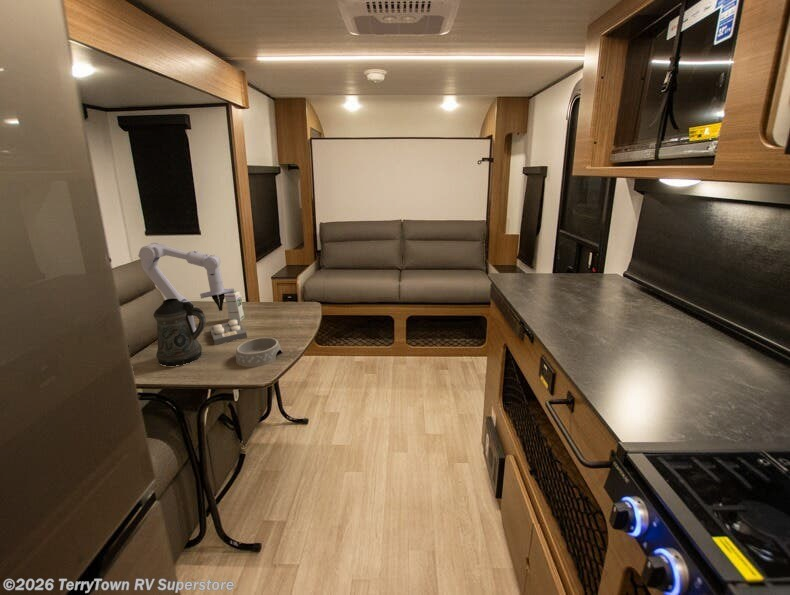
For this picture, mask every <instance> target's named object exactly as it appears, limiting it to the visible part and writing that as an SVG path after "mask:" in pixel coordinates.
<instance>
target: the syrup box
mask: <svg viewBox="0 0 790 595" xmlns="http://www.w3.org/2000/svg"><path fill="white" fill-rule="evenodd" d="M234 291H235V293H230V294H224V295H225V298H224V300H225V305H226V310H227V314H228V321H230V320H234V319H235V320H237V321H238V320H239V321H240V322H241V321H242V320H244V319H245V318H246V317H245V313H244V312H245V311H244V307H243V301H242V296H241V290H234Z"/></svg>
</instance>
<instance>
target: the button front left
mask: <svg viewBox="0 0 790 595" xmlns="http://www.w3.org/2000/svg"><path fill="white" fill-rule="evenodd" d="M214 331H215V335H219V334H223V333H225V332H224V328H223V327H219V328H216V329H214Z"/></svg>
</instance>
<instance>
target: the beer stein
mask: <svg viewBox="0 0 790 595" xmlns="http://www.w3.org/2000/svg"><path fill="white" fill-rule="evenodd" d="M190 302H191V301H190ZM190 302H181V301H179V300H178V299H174V298H173V299H166V298H165V299H164V300H163V302H162V303H161V305H160V306H158V308H156V309H155V311H154V313H153V317H154V320H156V329H157V351H156V355H155V356H156V359H157V361H158V364H159V363H160V364H162V365H166V366H176V365H183V364H186V363H189V364H191V363H190V362H192V361H194V360H196V361H198V360H199V357H200V356H201V357H202V353H203V352H202V351H203V350H202V345H201V344H200V342H199V340H198V339H197V338H198V337H199V336H200V335H201V334H202V332H203V331H204V329H205V326H206V323H207V320H206V318H207V317H206V314H205V313H204V311H203V310H202V309H200V308H199V307H194V304H193V302H192V303H190ZM192 315H193V317H197V318H198V326H197V327H196V331H195V332H193V329H192V326H191V324H190V321H189V318H188V316H192ZM201 357H200V358H201ZM194 362H195V361H194ZM192 363H193V362H192ZM186 365H187V364H186ZM183 366H184V365H183Z"/></svg>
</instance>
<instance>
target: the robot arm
mask: <svg viewBox="0 0 790 595" xmlns="http://www.w3.org/2000/svg"><path fill="white" fill-rule="evenodd" d="M137 256H138V257H139V259H140V265H141V268H142V270H143V271H144V272H145V274H146V276H147V277H148V278H149V279H150V280H151V281H152V282H153V284H154V285H155V286H156V288H157V289H158V290H159V291H160V292H161V294H162V295H163V296H164V297H165V300H166V299H173V298H174V299H178V300H179V301H181V302H190V303H192V304H193V302H191V301H190V300H189V299H187V298H186V297H185V296H184V295H182V294H180V293H179V292H178V291H177V289H176V288H175V287H174V286H173V284H172V283H171V282H170V281H169V279H168V278H167V277H166V276H165V274H164V272H162V270H161V269H160V268H159V267H158V264H159V260H160V258H163V257H164V256H165V257H166V256H167V257H168V256H169V257H173V258H178V259H182V260H186V262H187V263H188V264H190V265H194V266H198V267H202V268H204V269H205V270H206V276H207V280H208V287H209V291H206V292H202V293H199V294H200V295H199V296H200V299H205V298H210V297H211V298H212V300H213V301H214V303H215V305H216V306H217V307H218V311H219V312H221V311H223V305H224V300H225V295H226V294H230V293H235V291H236V290H235V288H233V287H231V288H224V284H223V278H222V273H221V267H220V265H221V260H220V257H218V256H217V255H216V254H211V255H209V253H201V252H198V250H196V249H195V250H191V251H189V252H188V251H184V250H181V249H178V248H175V247H171V246H170V245H169V246H168V245H166V244H164V243H158V242H152V243H150V244H147V245H144V246H142V247H141V248H140V249H139V251H138V255H137ZM194 317H195V316H194V315H192V316H188V318H189V321H190V324H191V326H192V329H193V332H195V331H196V329H197V327H196V322H195V318H194Z"/></svg>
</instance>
